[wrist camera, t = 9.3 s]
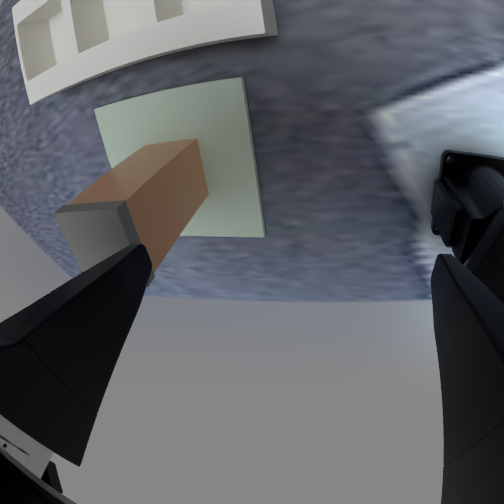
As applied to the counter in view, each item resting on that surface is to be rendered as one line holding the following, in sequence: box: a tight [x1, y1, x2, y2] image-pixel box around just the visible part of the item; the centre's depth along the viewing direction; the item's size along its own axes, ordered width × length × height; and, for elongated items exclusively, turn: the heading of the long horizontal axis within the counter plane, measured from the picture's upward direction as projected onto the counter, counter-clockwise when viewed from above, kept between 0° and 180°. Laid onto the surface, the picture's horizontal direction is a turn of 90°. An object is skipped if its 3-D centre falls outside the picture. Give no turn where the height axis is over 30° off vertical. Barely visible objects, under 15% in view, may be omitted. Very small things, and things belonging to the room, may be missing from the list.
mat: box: [94, 76, 266, 237], centre depth 22 cm, size 12×12×1 cm
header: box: [12, 0, 278, 105], centre depth 13 cm, size 18×9×4 cm, turn 97°
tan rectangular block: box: [54, 138, 209, 287], centre depth 18 cm, size 5×5×10 cm
